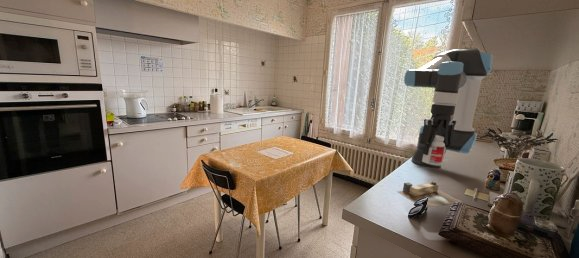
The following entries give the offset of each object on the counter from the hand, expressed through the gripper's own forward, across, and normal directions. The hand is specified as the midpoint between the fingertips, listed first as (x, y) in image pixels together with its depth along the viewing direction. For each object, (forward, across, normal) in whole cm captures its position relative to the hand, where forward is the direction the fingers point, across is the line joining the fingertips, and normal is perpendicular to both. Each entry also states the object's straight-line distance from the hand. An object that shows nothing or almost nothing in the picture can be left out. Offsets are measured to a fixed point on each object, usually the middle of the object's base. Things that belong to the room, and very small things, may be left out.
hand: (432, 162), depth 93 cm
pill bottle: (+1, 0, 0) cm, 1 cm away
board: (+16, 0, +2) cm, 16 cm away
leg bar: (+14, 0, -2) cm, 14 cm away
